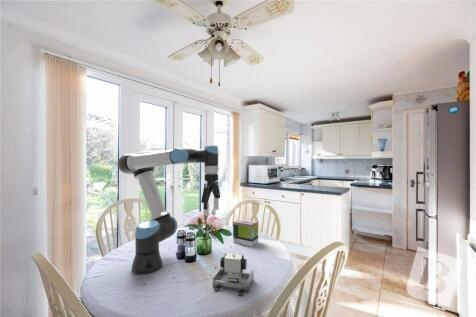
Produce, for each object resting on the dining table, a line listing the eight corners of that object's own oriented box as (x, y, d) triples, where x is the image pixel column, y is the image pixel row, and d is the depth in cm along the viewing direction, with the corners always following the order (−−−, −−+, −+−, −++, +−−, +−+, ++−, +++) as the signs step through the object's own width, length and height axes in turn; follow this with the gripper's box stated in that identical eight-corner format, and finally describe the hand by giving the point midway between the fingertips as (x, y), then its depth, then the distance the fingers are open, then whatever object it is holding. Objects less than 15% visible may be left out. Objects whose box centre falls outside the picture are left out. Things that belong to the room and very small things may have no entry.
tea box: (258, 242, 150) (258, 221, 150) (251, 247, 142) (251, 224, 142) (240, 238, 158) (240, 218, 158) (232, 242, 150) (232, 221, 150)
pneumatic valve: (245, 284, 97) (245, 257, 98) (220, 281, 100) (220, 255, 100) (247, 277, 103) (247, 252, 103) (223, 274, 105) (223, 250, 105)
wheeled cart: (210, 290, 95) (210, 280, 95) (221, 274, 108) (221, 265, 108) (246, 297, 91) (246, 286, 91) (253, 280, 103) (253, 270, 103)
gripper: (208, 175, 106) (208, 218, 106) (225, 172, 130) (225, 207, 130) (194, 175, 108) (194, 217, 108) (213, 172, 132) (214, 207, 132)
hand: (211, 212), depth 119 cm, fingers open, 13 cm apart
